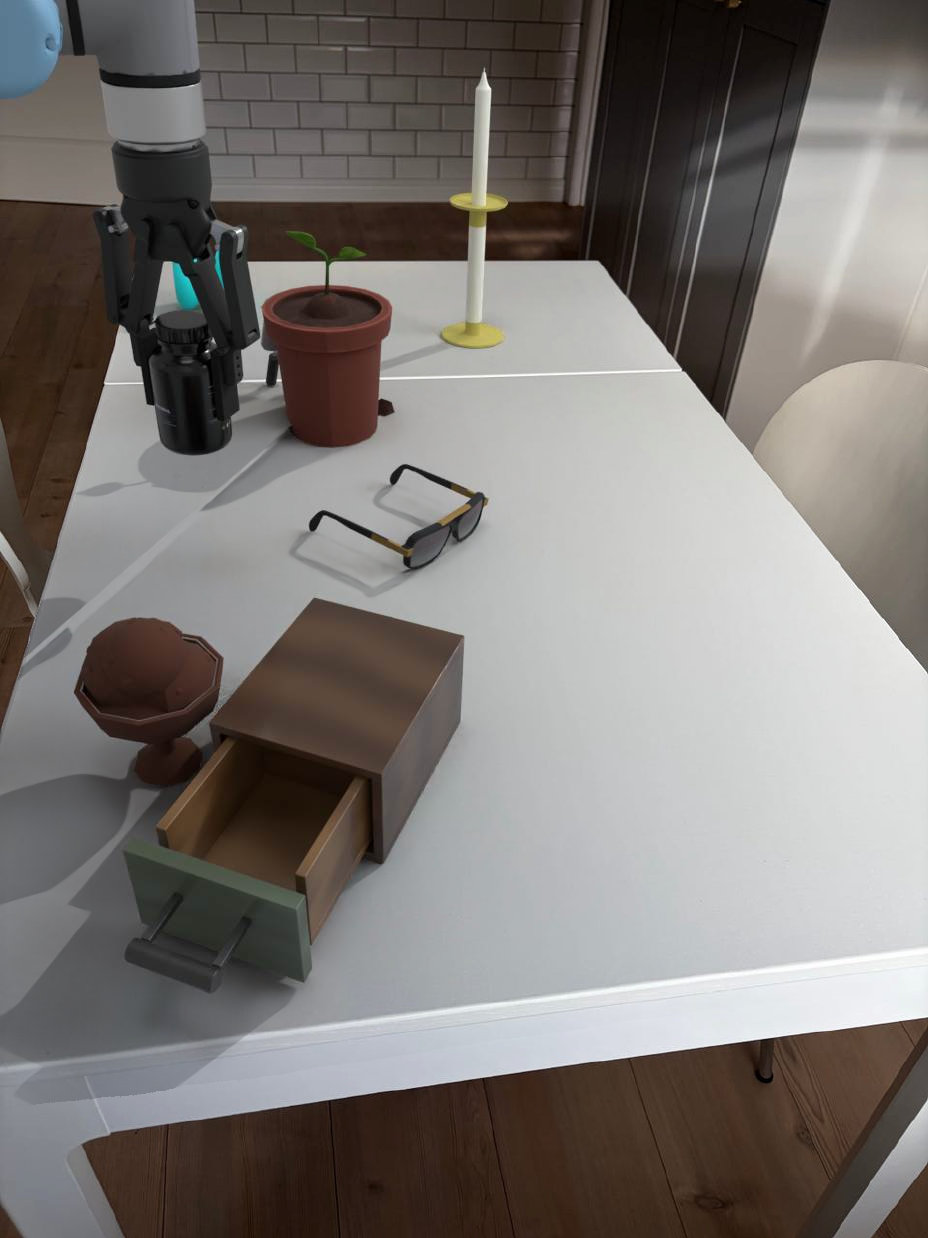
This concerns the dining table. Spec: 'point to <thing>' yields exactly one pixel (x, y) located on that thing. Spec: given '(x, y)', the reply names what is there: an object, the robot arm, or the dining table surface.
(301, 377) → the potted plant
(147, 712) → the ice cream bowl
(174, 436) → the supplement bottle
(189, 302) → the donuts
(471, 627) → the dining table surface
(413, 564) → the sunglasses
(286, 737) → the cabinet
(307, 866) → the drawer
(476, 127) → the candle
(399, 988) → the dining table surface
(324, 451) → the dining table surface
